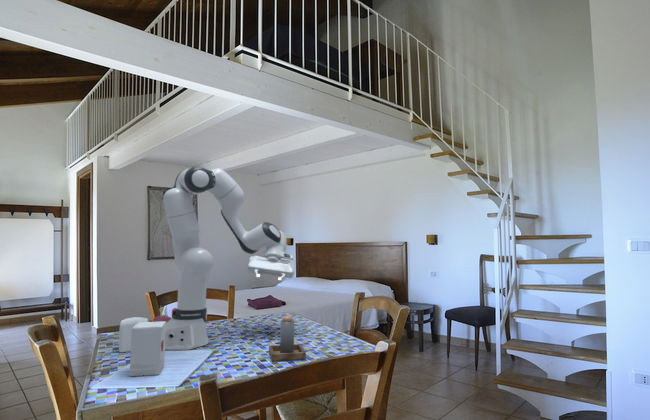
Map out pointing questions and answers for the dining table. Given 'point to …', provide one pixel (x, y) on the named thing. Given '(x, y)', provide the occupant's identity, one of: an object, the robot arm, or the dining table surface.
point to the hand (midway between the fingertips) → (268, 280)
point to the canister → (287, 335)
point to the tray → (277, 356)
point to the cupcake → (161, 317)
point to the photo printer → (127, 332)
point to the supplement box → (147, 348)
